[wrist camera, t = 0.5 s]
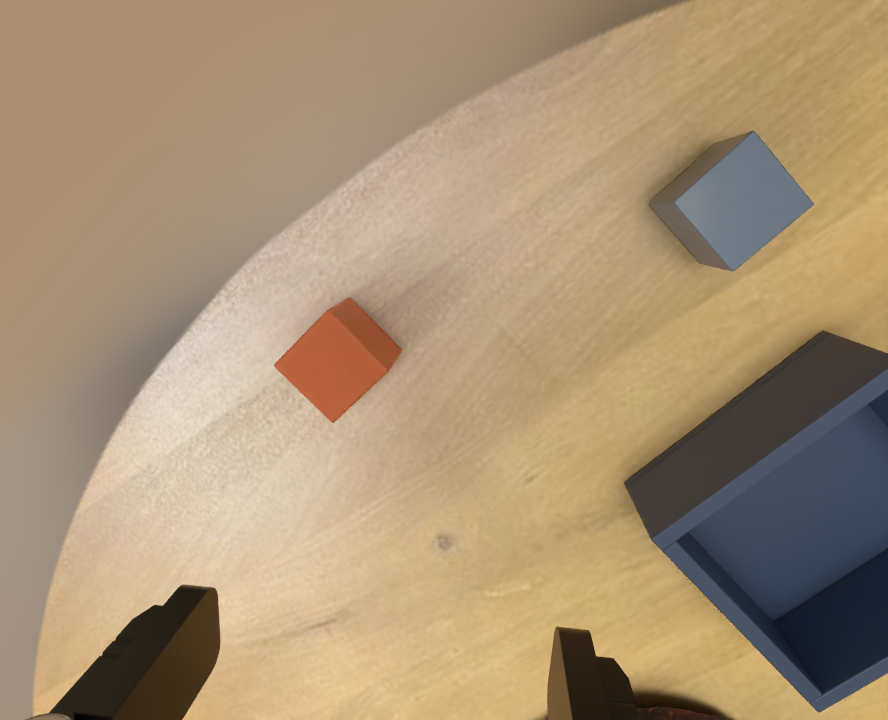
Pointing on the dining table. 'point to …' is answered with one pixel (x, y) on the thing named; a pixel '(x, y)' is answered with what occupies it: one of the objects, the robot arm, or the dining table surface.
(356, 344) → the terracotta block
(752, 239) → the blue block
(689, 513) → the blue bin
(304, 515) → the dining table surface
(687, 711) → the cactus
